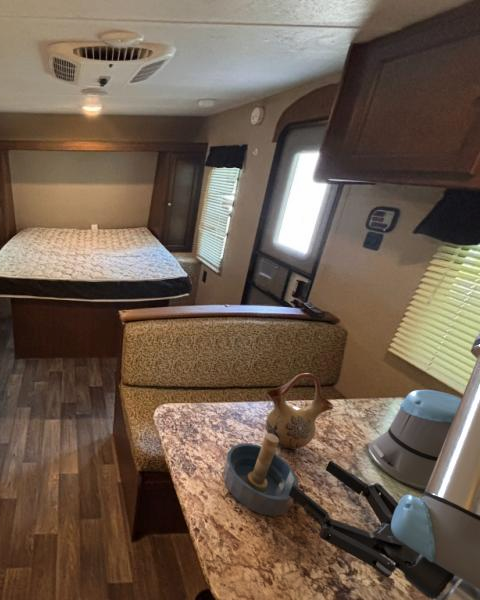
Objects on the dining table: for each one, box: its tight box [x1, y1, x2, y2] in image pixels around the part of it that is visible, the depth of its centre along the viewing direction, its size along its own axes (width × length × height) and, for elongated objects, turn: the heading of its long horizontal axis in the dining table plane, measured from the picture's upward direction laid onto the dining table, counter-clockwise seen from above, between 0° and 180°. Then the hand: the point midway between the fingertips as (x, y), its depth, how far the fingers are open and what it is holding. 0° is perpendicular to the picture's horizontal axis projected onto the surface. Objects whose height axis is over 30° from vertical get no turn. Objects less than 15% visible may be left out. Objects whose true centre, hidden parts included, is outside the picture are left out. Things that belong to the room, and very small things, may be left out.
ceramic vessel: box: [265, 372, 335, 450], centre depth 89 cm, size 16×9×25 cm, turn 74°
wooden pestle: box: [246, 432, 279, 493], centre depth 77 cm, size 4×4×16 cm
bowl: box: [222, 442, 300, 517], centre depth 79 cm, size 16×16×6 cm
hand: (310, 476), depth 68 cm, fingers open, 13 cm apart
